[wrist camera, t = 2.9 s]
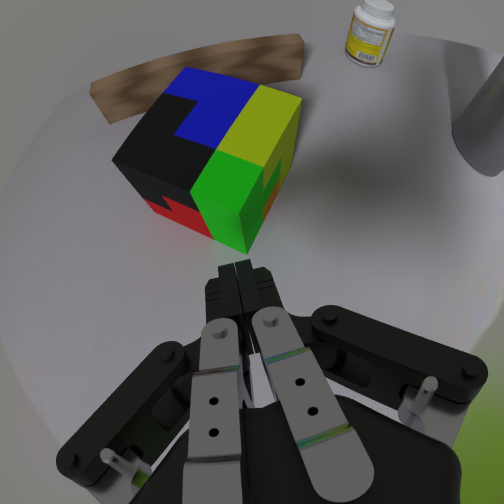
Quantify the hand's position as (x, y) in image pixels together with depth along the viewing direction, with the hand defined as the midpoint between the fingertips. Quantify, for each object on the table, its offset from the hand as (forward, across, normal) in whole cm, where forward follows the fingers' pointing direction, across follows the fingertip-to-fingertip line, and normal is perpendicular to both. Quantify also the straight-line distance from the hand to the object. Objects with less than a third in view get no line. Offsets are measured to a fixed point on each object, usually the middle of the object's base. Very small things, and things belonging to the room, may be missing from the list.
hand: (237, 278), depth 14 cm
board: (+26, 0, -9) cm, 28 cm away
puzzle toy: (+17, 0, +1) cm, 17 cm away
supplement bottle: (+28, -23, -11) cm, 38 cm away
